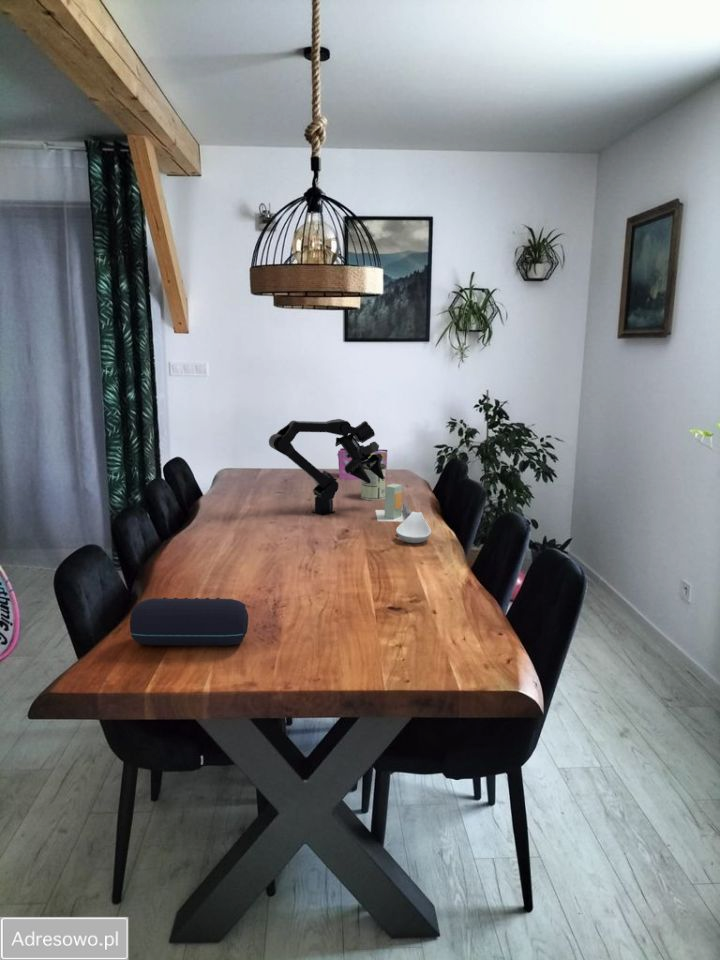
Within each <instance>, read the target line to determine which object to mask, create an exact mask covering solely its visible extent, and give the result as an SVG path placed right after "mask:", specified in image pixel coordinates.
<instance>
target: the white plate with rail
mask: <svg viewBox="0 0 720 960" xmlns="http://www.w3.org/2000/svg"><path fill="white" fill-rule="evenodd" d="M411 513H412V512H411V509H410V508H409V505H408V503H407V502H403V504H402V509H401V517H398V518H396V519H389V518H384V514H385V509H375V515H376V520H377V522H395V523H396V522H398V523H399V522H401V523H402V522H403V521H404V520H405V519H406V518H407V517H408V516H409V515H410V514H411Z"/></svg>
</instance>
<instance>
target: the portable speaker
mask: <svg viewBox="0 0 720 960" xmlns="http://www.w3.org/2000/svg"><path fill="white" fill-rule="evenodd" d="M246 606H247V605H246V603H244V602H242V601H240V600H237V599H233V598H220V597H217V598H209V597H206V598H199V597H195V598H188V597H184V598H178V597H174V598H168V597H161V598H160V597H159V598H156V597H155V598H149V599H148V598H147V599H144V600H141V601H140V602H138V603H136V604H135V605H134V606H133V608H132V610H131V613H130V619H129V631H130V635H131V636H130V637H131V638H132V639H133V641H135V642H136V643H138V644H140V645H146V646H196V647H197V646H200V647H201V646H203V647H204V646H206V647H207V646H208V647H209V646H213V647H214V646H222V647H223V646H225V647H227V646H234V645H236V646H237V645H239V644H242V643H243V641H244V638H245V637H246V635H247V633H248V629H249V613H248V610H247V608H246Z"/></svg>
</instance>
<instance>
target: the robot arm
mask: <svg viewBox="0 0 720 960" xmlns="http://www.w3.org/2000/svg"><path fill="white" fill-rule="evenodd" d="M298 433H328V434H333V435H337V436H341V437H336V438H335V444H334V445H335V447H338V446H340V445H341V446H342V447H341V448H344V449H345V451H346V452H347V454H348V455H347V457H348V458H351V459H352V460H351V461H350V462H349V463H348V464H347V465H346V466H345V471H346V473H347V474H349V473H350V475H353V476H355V477H357V478H359V479H358V480H360V481H361V480H363V481H365V482H367V483H370V482H371V481H370V479H369V477H368V476H367V474H366V472H365V471H364V465H367V467H369V470H371V471H372V472H373V473H374V474H375V475H377V476H378V477H379V478H381V479H384V475H383V472H382V469H381V465H380V464H381V461H382V458H383V457H382V455H381V454H379V453H377V454H373V455H372V456H371V453H374V452H377V451H379V450H378V449H379V448H380V445H379V444H378V443H377V442H376V441H371V442H370V443H369V444H367V445H363V443H365V442H366V441H368V440H370V439H372V438H373V437H375V436H376V435H375V431H374V429H373V428H372V426H371V425H370V424H369V422H368V421H365V420H364V421H362V422H361V423H360V424H358V425H356V426H352V425H351V423H350V421H348V420H345V419H341V418H336V419H330V420H327V421H305V420H303V421H302V420H299V421H297V420H291V421H289V423H287V424H286V425H285V426H283V428H281V429H279V430H278V431H277V432H276V433H274V434H271V436H270V437H269V439H268V445H269V447H270V448H271V449H273V450H275V451H277V452H278V453H280V454H282V455H284V456H285V457H287V458H288V459H290V460H291V461H292V462H293V463H294V464H295V465H297V467H299V468H300V469H301V470H302V471H304V472H305V474H307V475H308V476H309V477H310V478H311V479H312V480H313V481H314V484H316V486H315V487H314V488H313V489H312V493H313V495H314V496H315V497H314V510H311V512H312V513H314V514H318V515H321V516H326V515H330V514H334V513H336V511H335V510H334V508H333V507H334V500H333V499H335V494H336V492H338V489H339V483H338V481H337V480H338V479H337V478H336V477H334V476H333V475H332V474H331V473H330V472H328V471H327V470H322V471H320V470H319V468H317V467H316V466H314V465H313V463H311V462H310V461H309V460H308V459H306V457H304V456H303V455H302V454H300V453H299V452H298V451H297V450H296V449H295V447H294V445H293V444H292V442H293V441H294V439H295V438H296V437H297V435H298ZM360 443H361V444H362V445H360ZM370 456H371V457H370ZM368 457H370V458H368Z"/></svg>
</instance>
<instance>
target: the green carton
mask: <svg viewBox="0 0 720 960" xmlns="http://www.w3.org/2000/svg"><path fill="white" fill-rule="evenodd" d="M402 498H403V484H398V483H391V484H390V483H389V484H388V485H385V499H384V510H385V514H384V518H389V519H396V518H398V517H401V510H403V504H402V502H403V501H402V500H403V499H402Z"/></svg>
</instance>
